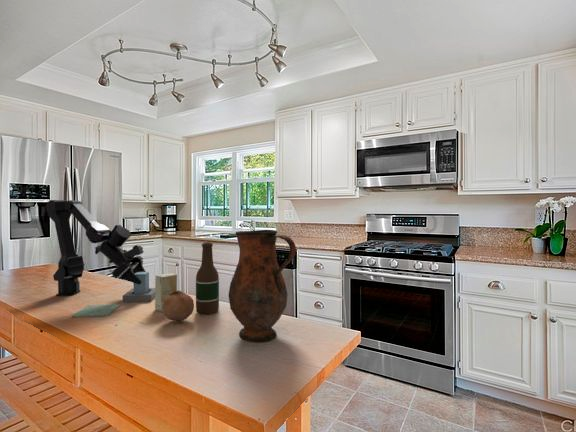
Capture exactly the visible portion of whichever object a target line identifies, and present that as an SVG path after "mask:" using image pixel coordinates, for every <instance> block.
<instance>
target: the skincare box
mask: <svg viewBox="0 0 576 432" xmlns="http://www.w3.org/2000/svg"><path fill="white" fill-rule="evenodd" d="M154 280H155V281H154V282H155V287H154V288H155V298H154V300H155V301H154V303H155V304H154V309H155V310H156V311H159V312H163V310H162V305H163V302H164V300H165V299H166V298H167V297H168V296H169V294H170V293H173V292H174V291H178V285H177V284H178V274H176V273H172V272H169V273H162V274H157V275H155V279H154Z"/></svg>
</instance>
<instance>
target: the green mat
mask: <svg viewBox="0 0 576 432" xmlns="http://www.w3.org/2000/svg"><path fill="white" fill-rule="evenodd" d="M120 306H121V303H120V304H119V303H117V304H95V305H94V304H91V305H86V306H85V307H83V308H82V309H80V310H78V311H77V312H75V313H74V314H72V315H71V318H85V317H86V318H87V317H88V318H89V317H107V316H109V315H111V314H112V313H114V312H115V311H116V310H117V309H118V308H119V307H120Z"/></svg>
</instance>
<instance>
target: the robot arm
mask: <svg viewBox="0 0 576 432" xmlns="http://www.w3.org/2000/svg"><path fill="white" fill-rule="evenodd" d="M45 209H46V213H47V216H48V217H49V218H50V219H51V221H53V222H54V226H55V230H56V235H57V240H58V241H57V242H58V245H59V246H58V247H59V251H60V256H61V257H60V258H59V261H58V263H57V266H58V269H57V270H56V271H55V273H54V274H53V275H52V277H53V281H55V282H57V292H58V293H56V294H55V296H73V295H76V294H77V293H79V292H81V289H80V280H79V278H82V277H83V272H84V271H85V262H84V257H83V256H82V255H78V254H77V252H76V248H75V244H74V243H75V242H74V239H73V238H74V237H73V234H72V228H71V224H70V218H71V216H72V215H73V217H74V218H75V219H76V220H77V221H78V222H79V224H80V225H81V226H82V227H83V228H84V230H85V236H86V237H87V239H88V241H89V242H90V243H92V244H100V245H97V246H95V247H94V248H95V249H94V250H95V251H94V253H95V255H98V254H99V253H101V254H103V255H104V257H106V258H107V259H108V262H109V263H110V264H112V263H113V265H114V266H116V267H115V269H113V270H112V272H111V276H112V277H113V278H114V279H119V280H123V281H126V282H130V283H132V284H133V283H136V284H141V283H142V282H141V281H140V279H139V278H138V277H137V276H136V274H135V273H136V272H147V271H146V270H145V268H144V265H143V264H144V258H143V257H142V256H141V255H142V254H144V250H143V249H144V247H143V246H142V245H139V244H135V245H133V246H132V249H130V250H127V249H122V248H121V247H122V246H123V245H125V243H126V242H127V241H128V240H129V238H130V237H132V233H131V231H130V230H129V229H127V228H126V227H123V226H122V225H121V224H115V226H114V227H113V229H112V230H111V229H110V228H108V227H107V226H106V225H105V224H102V223H101V222H98V221H97V220H96V219H95V218H94V216H93V215H92V214H91V213H90V212H89V211H88V210H87V209H86V207H85V206H84V205H83V203H82V201H80V200H76V199H75V200H74V199H73V200H71V199H69V200H66V199H64V200H63V199H50V200H49V201H48V202H47V203H46V204H45Z"/></svg>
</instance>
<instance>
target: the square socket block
mask: <svg viewBox="0 0 576 432" xmlns="http://www.w3.org/2000/svg"><path fill="white" fill-rule="evenodd" d="M153 300H155V287H149V293H148V294H134V288H131V289H129V290H128V291H126V293H124V294H123V295H122V303H138V302H139V303H140V302H142V303H144V302H153Z"/></svg>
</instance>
